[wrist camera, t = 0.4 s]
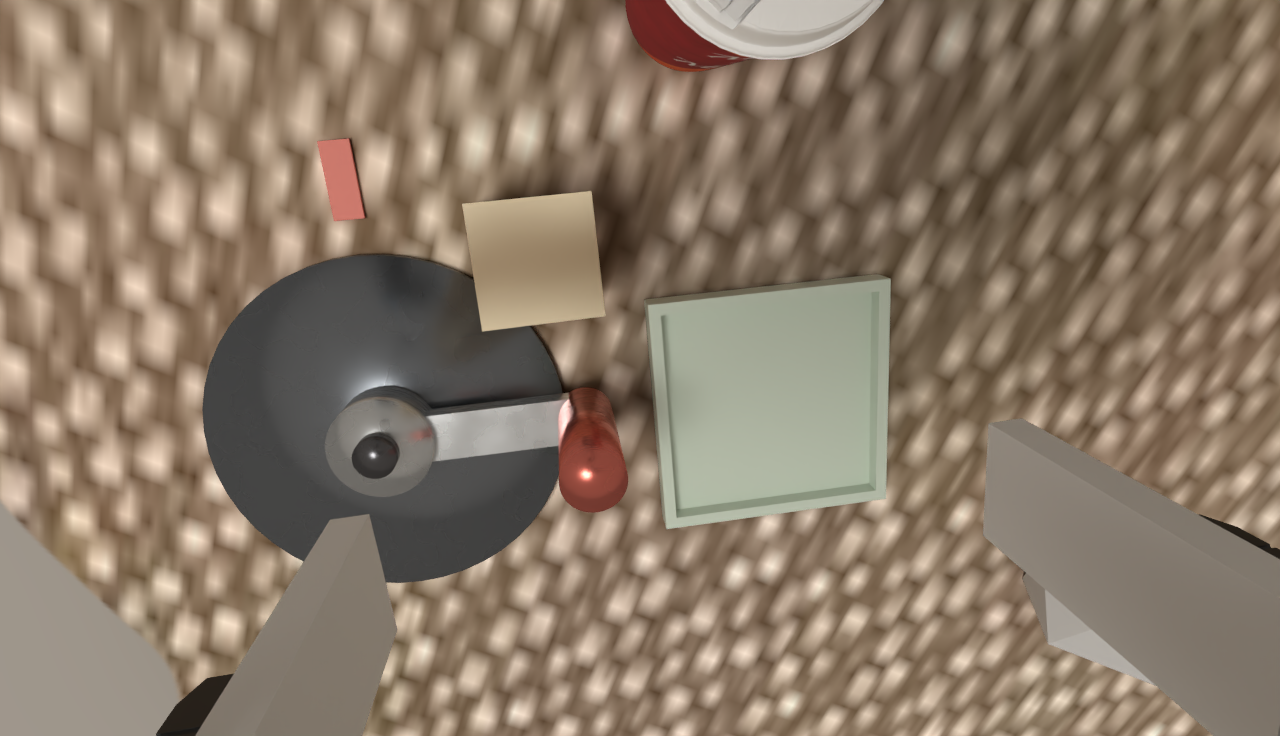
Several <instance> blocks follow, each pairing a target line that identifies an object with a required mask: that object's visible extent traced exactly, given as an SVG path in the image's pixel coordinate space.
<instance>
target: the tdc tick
mask: <svg viewBox="0 0 1280 736" xmlns="http://www.w3.org/2000/svg"><path fill="white" fill-rule="evenodd" d="M317 143H318V147H319V152H320V157H321V162H322V166H323V171H324V176H325V180H326V185H327V190H328V195H329V199H330V204H331V209H332V213H333V218H334V221H340V220H350V219H361V218H365V213H364V208H363V203H362V198H361V193H360V188H359V182H358V177H357V172H356V167H355V162H354V157H353V152H352V147H351V142H350V139H338V140H327V141H317Z"/></svg>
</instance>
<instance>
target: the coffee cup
mask: <svg viewBox="0 0 1280 736" xmlns="http://www.w3.org/2000/svg"><path fill="white" fill-rule="evenodd" d="M625 1H626V12H627V18H628V21H629V25H630V28H631V30H632V32H633V35H634V37H635V38H636V40H637V42H638V43H639V45H640V46H641V47H642V49H643V50H644V51H645V52H646V53H647V54H648V55H649V56H650V57H651V58H652V59H654V60H655V61H657V62H658V63H660V64H662V65H664V66H666V67H668V68H671V69H674V70H678V71H685V72H696V71H704V70H709V69H714V68H718V67H722V66H726V65H729V64H733V63H737V62H741V61H744V60H748V59H751V58H756V59H761V60H785V59H791V58H797V57H803V56H806V55H809V54H812V53H815V52H818V51H820V50H823V49H826V48H828V47H829V46H831V45H833V44H835V43H837V42H839V41H840V40H842V39H844V38H846V37H847V36H848V35H850V34H851V33H852V32H853V31H855V30H856V29H857V28H859V27H860V26H861V25H862V24H864V22H865V21H866V20H867V19H868V18H869V17H870V16H871V15H872V14H873V13H874V12H875V11H876V10H877V9H878V8H879V7H880V5H881V4H882V3H883V1H884V0H625Z"/></svg>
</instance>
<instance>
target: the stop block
mask: <svg viewBox="0 0 1280 736" xmlns="http://www.w3.org/2000/svg"><path fill="white" fill-rule="evenodd" d="M462 206H463V212H464V219H465V225H466V231H467V238H468V244H469V251H470V257H471V263H472V270H473V276H474V283H475V289H476V295H477V302H478V308H479V315H480V321H481V327H482V332H483V331H490V330H498V329H506V328H514V327H522V326H530V325H538V324H546V323H554V322H562V321H570V320H578V319H586V318H594V317H602V316H605V307H604V298H603V290H602V281H601V272H600V263H599V254H598V245H597V236H596V227H595V218H594V209H593V201H592V192H591V191H587V192H577V193H567V194H557V195H547V196H537V197H527V198H517V199H507V200H497V201H487V202H477V203H467V204H462Z"/></svg>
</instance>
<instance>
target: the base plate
mask: <svg viewBox="0 0 1280 736" xmlns="http://www.w3.org/2000/svg"><path fill="white" fill-rule="evenodd" d="M384 386H389V387H398V388H402V389H405V390H408V391H410V392H412V393H414V394H416V395H418V396H419V397H420V398H422V399H423V400H424V401H425V402H426V403H427V404H428V405H429V406H430V407H431V409H438V408H446V407H454V406H463V405H471V404H479V403H488V402H496V401H504V400H513V399H521V398H530V397H538V396H546V395H555V394H563V392H562V387H561V383H560V380H559V378H558V375H557V372H556V369H555V366H554V364H553V362H552V360H551V358H550V356H549V354H548V352H547V350H546V348H545V346H544V344H543V343H542V342H541V340H540V339H539V337H538V336H537V334H536V333H535V331H534V330H533V328H532V327H531V326H522V327H514V328H506V329H498V330H490V331H483V332H482V327H481V321H480V315H479V308H478V302H477V295H476V289H475V283H474V279H473V278H471V277H469V276H467V275H465V274H463V273H461V272H459V271H457V270H455V269H452V268H449V267H446V266H443V265H441V264H438V263H435V262H432V261H427V260H423V259H418V258H414V257H409V256H399V255H388V254H369V255H354V256H348V257H342V258H336V259H331V260H328V261H325V262H322V263H318V264H315V265H312V266H309V267H307V268H304V269H302V270H300V271H298V272H296V273H294V274H291V275H289V276H287V277H285V278H283V279H281V280H280V281H278V282H277V283H275V284H274V285H272V286H271V287H269V288H268V289H266V290H264V291H263V292H262V293H261V294H260V295H258V296H257V297H256V298H255V299H254V300H253V301H252V302H250V303H249V304H248V305H247V306H246V307H245V308H244V309H243V310H242V312H241V313H240V314H239V315H238V316H237V317H236V319H235V320H234V321H233V322H232V323H231V325H230V326H229V328H228V329H227V331H226V333H225V334H224V336H223V338H222V339H221V341H220V342H219V344H218V347H217V349H216V351H215V354H214V356H213V359H212V361H211V363H210V366H209V370H208V374H207V378H206V383H205V387H204V398H203V423H204V433H205V438H206V442H207V447H208V452H209V455H210V457H211V460H212V463H213V465H214V468H215V471H216V474H217V475H218V477H219V479H220V481H221V483H222V485H223V487H224V488H225V490H226V492H227V494H228V495H229V497H230V498H231V499H232V501H233V502H234V504H235V505H236V506H237V508H238V509H239V511H240V512H241V513H242V514H243V515H244V516H245V517H246V518H247V519H248V520H249V522H250V523H251V524H252V525H253V526H254V527H255V528H256V529H257V530H258V531H260V532H261V533H262V534H263V535H264V536H266V537H267V538H268V539H269V540H270V541H271V542H273V543H274V544H276V545H277V546H279V547H280V548H282V549H283V550H285V551H286V552H288V553H289V554H291V555H292V556H294V557H296V558H298V559H300V560H302V561H305V559H306V557H307V556H308V554H309V553H310V551H311V549H312V548H313V546H314V545H315V543H316V541H317V540H318V538H319V537H320V535H321V533H322V532H323V530H324V529H325V527H326V525H327V524H328V522H329V521H330V520H332V519H339V518H346V517H352V516H359V515H366V514H369V515H370V520H371V524H372V528H373V532H374V536H375V540H376V544H377V548H378V552H379V556H380V561H381V565H382V569H383V573H384V577H385V581H386V582H392V583H403V582H415V581H424V580H429V579H434V578H439V577H444V576H447V575H450V574H453V573H456V572H459V571H463V570H465V569H467V568H470V567H472V566H474V565H476V564H478V563H481V562H483V561H484V560H486V559H488V558H489V557H491V556H493V555H494V554H496V553H498V552H499V551H501V550H502V549H503V548H505V547H506V546H507V545H508V544H510V543H511V542H512V541H513V540H515V539H516V538H517V537H518V536H519V535H520V534H521V533H522V532H523V531H524V530H525V529H526V528H527V527H528V526H529V525H530V524H531V523H532V521H533V520H534V519H535V517H536V516H537V515H538V513H539V512H540V511H541V509H542V508H543V506H544V505H545V503H546V501H547V499H548V497H549V496H550V494H551V492H552V490H553V488H554V485H555V483H556V480H557V478H558V475H559V448H558V446H552V447H545V448H537V449H529V450H521V451H513V452H505V453H497V454H489V455H481V456H473V457H465V458H457V459H449V460H442V461H434V462H432V464H431V466H430V468H429V470H428V472H427V474H426V476H425V477H424V478H423V479H422V481H421V482H420V483H419V484H417V485H416V486H415V487H413V488H412V489H410V490H409V491H406V492H404V493H402V494H399V495H395V496H390V497H375V496H369V495H365V494H362V493H359V492H357V491H355V490H353V489H351V488H349V487H348V486H346V485H345V484H344V483H343V482H341V481H340V480H339V479H338V478H337V476H336V475H335V474H334V473H333V471H332V469H331V468H330V466H329V464H328V461H327V458H326V452H325V441H326V436H327V432H328V430H329V428H330V426H331V424H332V423H333V421H334V420H335V419H336V417H337V416H338V415H339V414H340V413H341V411H342V410H343V409H344V408H345V407H346V405H347V404H348V403H349V402H350V401H351V400H352V399H353V398H354V397H355V396H357V395H358V394H360V393H362V392H364V391H366V390H368V389H372V388H376V387H384ZM399 457H400V450H399V447H398V444H397V443H396V442H395V440H394V439H393V438H391V437H390V436H388V435H386V434H382V433H372V434H368V435H366V436H365V437H363V438H362V439H361V440H360V441H359V443H358V444H357V446H356V447H355V449H354V450H353V453H352V464H353V466H354V468H355V469H356V471H357V472H358V473H359V474H361V475H362V476H364V477H367V478H371V479H379V478H383V477H386V476H387V475H389V474H390V473H391V472H392V471H393V470H394V468H395V466H396V464H397V462H398V460H399Z"/></svg>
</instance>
